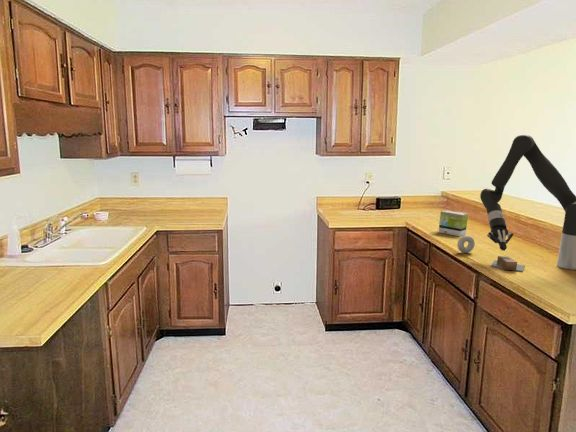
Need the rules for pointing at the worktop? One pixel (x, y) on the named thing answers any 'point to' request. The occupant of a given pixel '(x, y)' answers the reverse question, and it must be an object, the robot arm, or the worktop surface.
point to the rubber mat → (494, 264)
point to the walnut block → (507, 263)
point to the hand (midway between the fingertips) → (503, 249)
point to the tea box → (453, 223)
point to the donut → (470, 244)
